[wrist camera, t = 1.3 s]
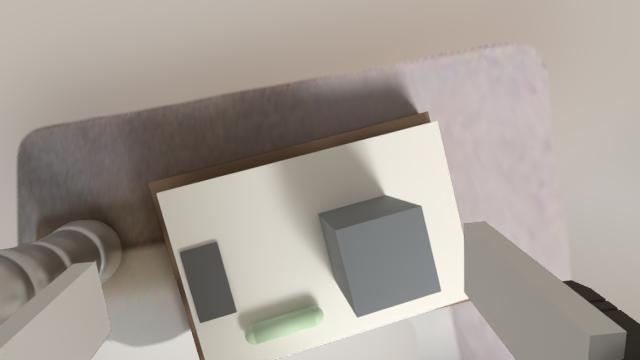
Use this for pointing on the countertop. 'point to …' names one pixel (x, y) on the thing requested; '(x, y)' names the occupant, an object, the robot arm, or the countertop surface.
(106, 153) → the countertop surface
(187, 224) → the plate
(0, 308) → the plastic bottle
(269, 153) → the walnut base
